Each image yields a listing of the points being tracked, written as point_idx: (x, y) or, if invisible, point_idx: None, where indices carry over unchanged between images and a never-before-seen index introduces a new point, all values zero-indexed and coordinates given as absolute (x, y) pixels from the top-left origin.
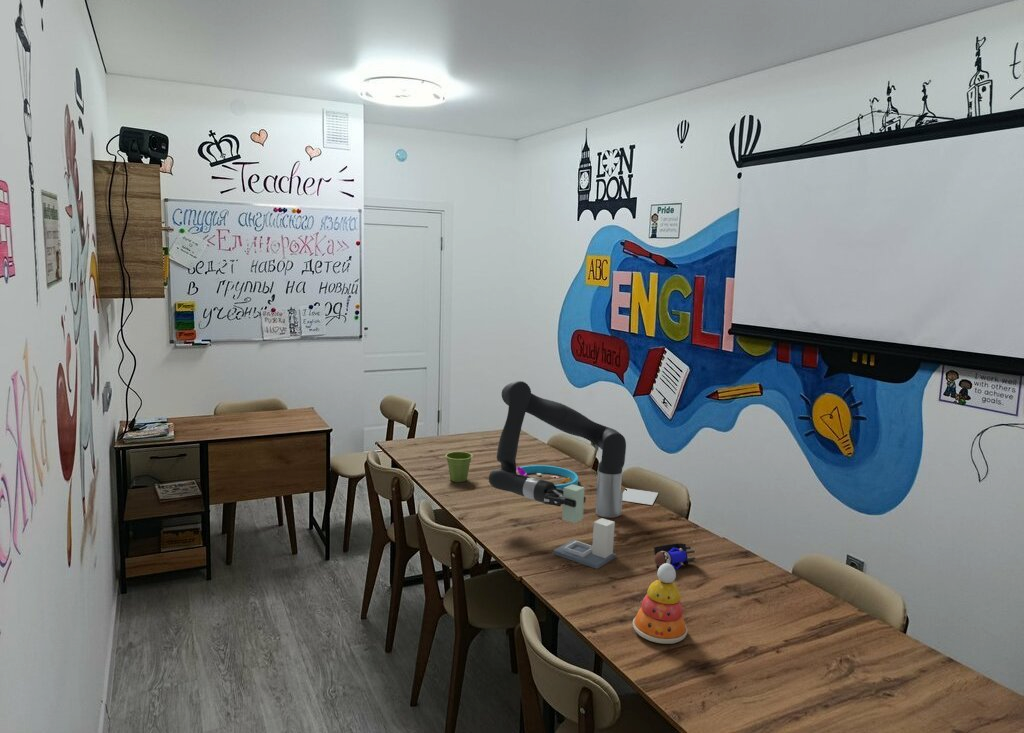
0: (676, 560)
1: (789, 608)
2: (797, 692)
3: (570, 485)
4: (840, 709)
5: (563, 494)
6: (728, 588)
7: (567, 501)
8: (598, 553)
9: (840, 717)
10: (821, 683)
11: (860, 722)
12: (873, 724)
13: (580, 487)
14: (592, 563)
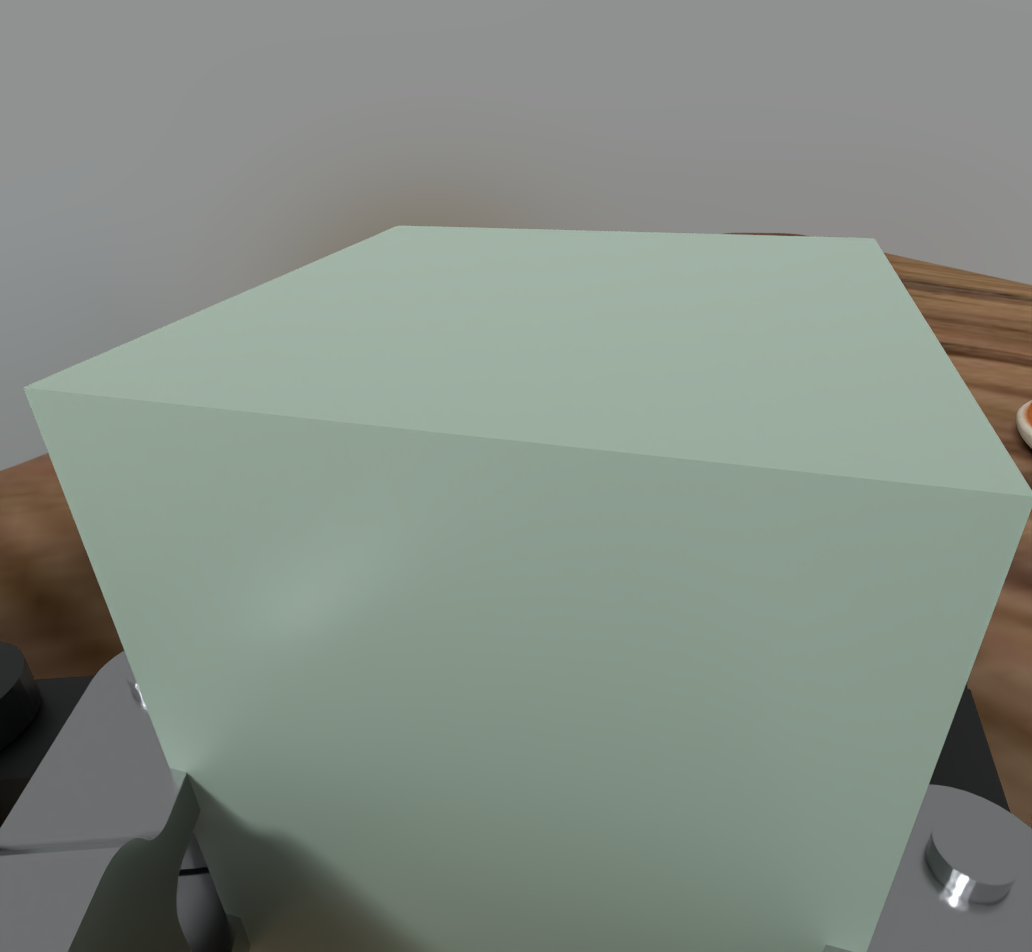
0: None
1: None
2: (1014, 310)
3: (296, 388)
4: (991, 288)
5: (890, 867)
6: None
7: (976, 736)
8: None
9: (1018, 287)
10: (929, 298)
11: (999, 279)
12: (983, 274)
13: (435, 247)
14: None
